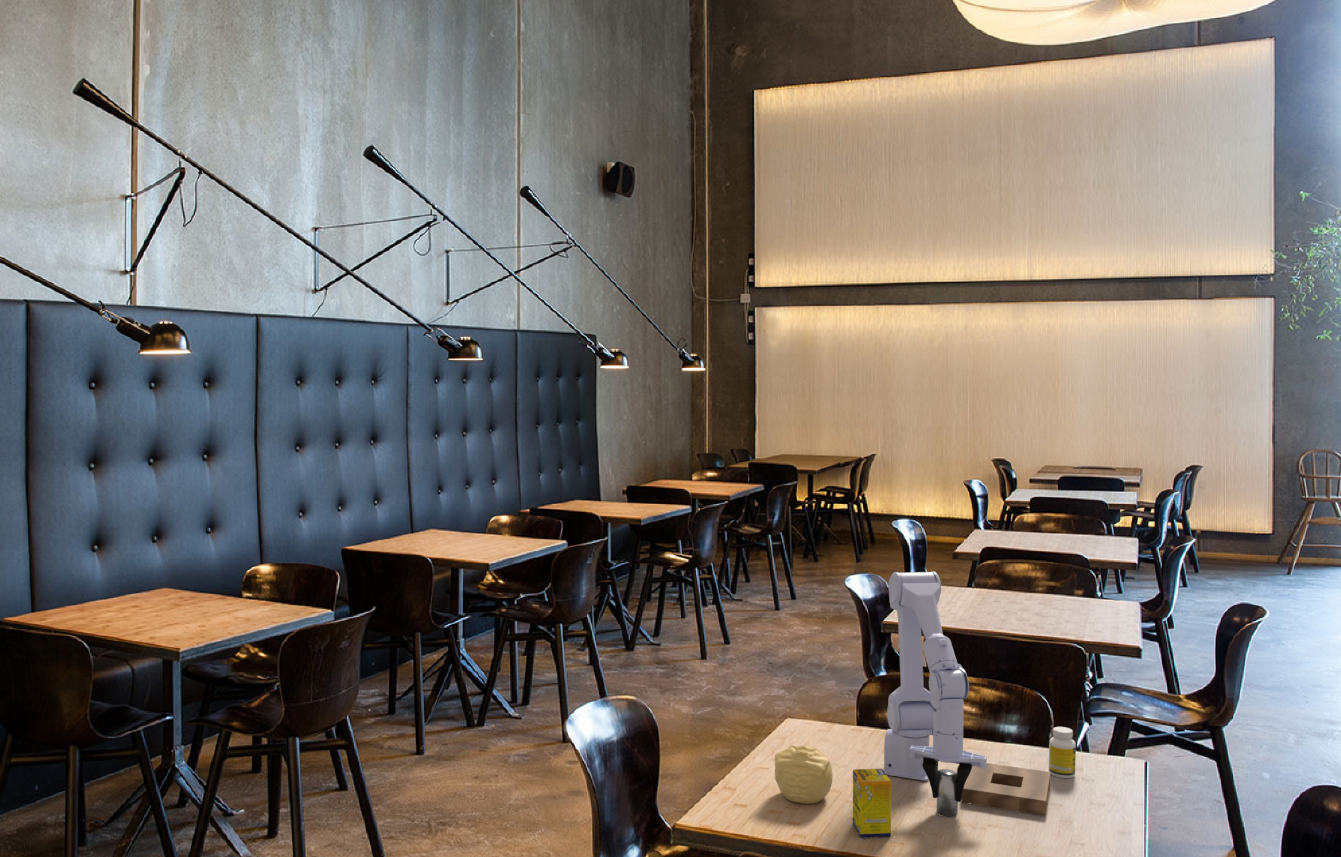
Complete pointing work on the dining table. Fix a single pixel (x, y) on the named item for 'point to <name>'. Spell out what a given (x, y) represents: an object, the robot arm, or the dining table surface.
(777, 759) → the sculpture
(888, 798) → the supplement box
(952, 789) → the steel pin
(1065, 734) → the supplement bottle
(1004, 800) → the socket block
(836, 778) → the dining table surface
